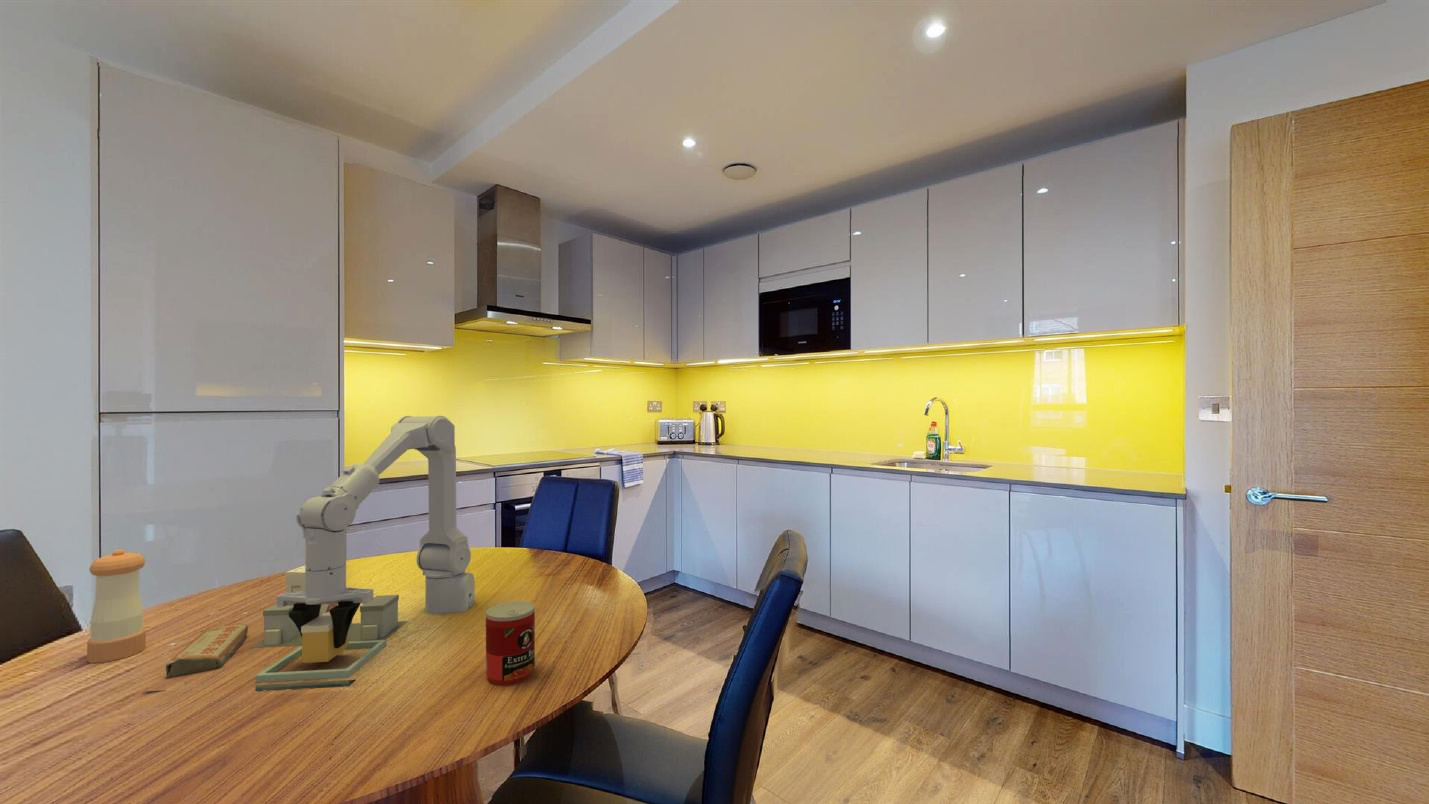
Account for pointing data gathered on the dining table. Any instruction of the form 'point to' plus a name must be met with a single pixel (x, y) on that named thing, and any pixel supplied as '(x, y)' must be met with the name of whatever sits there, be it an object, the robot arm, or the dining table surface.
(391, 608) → the block
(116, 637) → the pepper shaker
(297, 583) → the ink cartridge box
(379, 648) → the parts tray
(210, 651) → the packaged product
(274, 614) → the block
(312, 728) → the dining table surface
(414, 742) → the dining table surface
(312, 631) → the block
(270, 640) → the block
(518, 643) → the canned food
